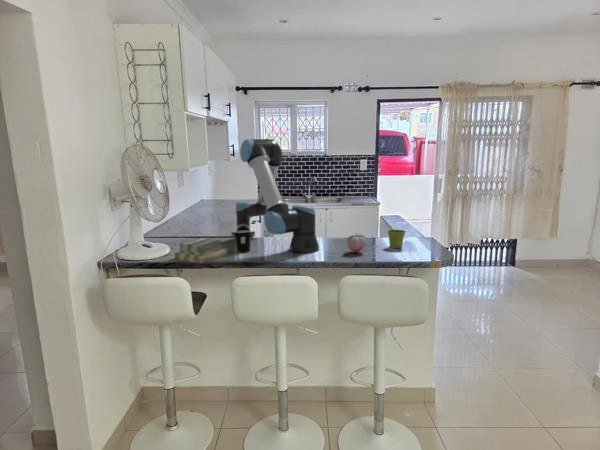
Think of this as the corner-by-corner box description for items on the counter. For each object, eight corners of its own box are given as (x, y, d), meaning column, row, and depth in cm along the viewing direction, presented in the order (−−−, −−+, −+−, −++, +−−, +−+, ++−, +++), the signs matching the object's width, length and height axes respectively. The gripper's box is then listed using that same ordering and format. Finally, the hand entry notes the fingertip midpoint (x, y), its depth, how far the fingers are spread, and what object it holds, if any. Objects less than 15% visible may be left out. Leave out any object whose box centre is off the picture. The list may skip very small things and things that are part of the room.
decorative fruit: (360, 249, 201) (360, 230, 199) (368, 253, 194) (368, 233, 192) (343, 251, 198) (343, 232, 196) (351, 255, 191) (351, 235, 189)
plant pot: (391, 244, 212) (391, 228, 210) (407, 246, 206) (408, 230, 205) (383, 247, 204) (384, 231, 202) (401, 250, 199) (401, 233, 197)
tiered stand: (227, 254, 197) (226, 240, 195) (201, 263, 182) (200, 248, 180) (202, 250, 206) (201, 236, 205) (175, 258, 191) (173, 243, 190)
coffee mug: (239, 248, 209) (238, 230, 207) (254, 249, 206) (253, 230, 205) (229, 253, 198) (228, 233, 196) (245, 253, 195) (244, 233, 194)
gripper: (255, 237, 221) (256, 247, 198) (231, 238, 219) (229, 248, 196) (255, 224, 219) (256, 232, 196) (230, 225, 217) (229, 234, 194)
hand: (243, 240), depth 196 cm, fingers closed on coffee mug
